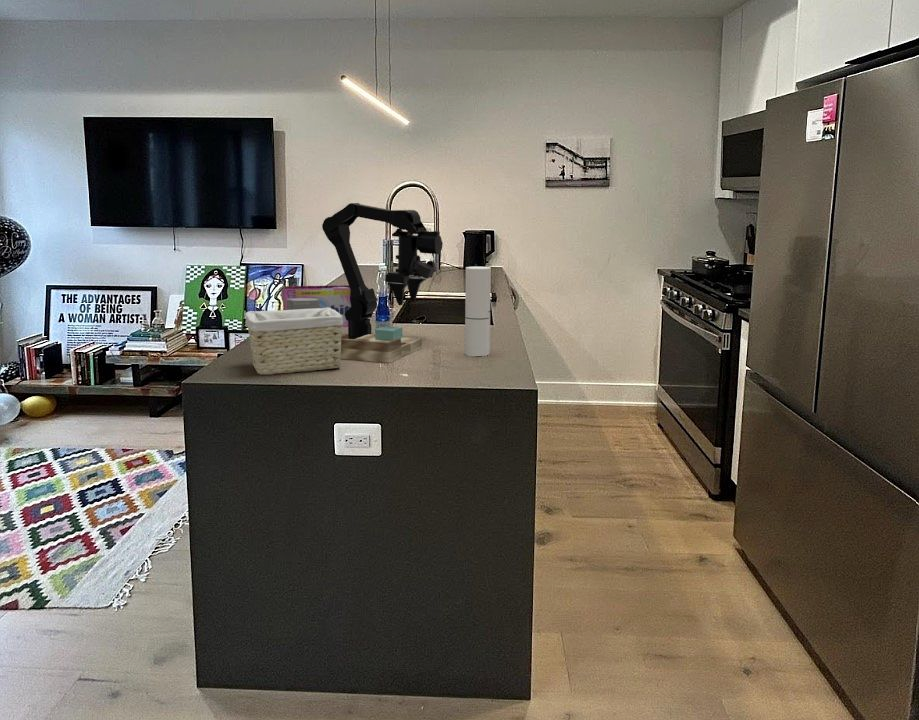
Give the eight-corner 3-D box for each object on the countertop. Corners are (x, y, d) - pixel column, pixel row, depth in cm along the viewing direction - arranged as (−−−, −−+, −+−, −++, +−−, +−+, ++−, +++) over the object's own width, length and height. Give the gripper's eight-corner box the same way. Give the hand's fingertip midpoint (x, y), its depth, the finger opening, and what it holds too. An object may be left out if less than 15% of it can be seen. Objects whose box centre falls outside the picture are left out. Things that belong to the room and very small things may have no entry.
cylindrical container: (492, 352, 239) (494, 267, 234) (485, 357, 232) (486, 269, 227) (469, 350, 241) (470, 266, 236) (461, 355, 235) (462, 268, 229)
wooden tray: (331, 357, 231) (331, 338, 229) (368, 343, 251) (368, 326, 249) (389, 363, 224) (388, 343, 223) (422, 348, 244) (422, 330, 243)
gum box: (281, 329, 276) (279, 288, 273) (281, 325, 283) (280, 286, 280) (352, 327, 280) (351, 287, 277) (351, 323, 288) (350, 284, 285)
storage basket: (253, 377, 207) (250, 320, 204) (246, 364, 222) (243, 310, 219) (346, 370, 215) (344, 315, 212) (333, 358, 230) (331, 306, 227)
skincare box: (293, 356, 232) (291, 300, 229) (286, 351, 239) (284, 297, 235) (322, 353, 236) (320, 299, 233) (314, 349, 242) (312, 296, 239)
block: (375, 339, 241) (375, 329, 241) (384, 336, 247) (384, 326, 246) (393, 341, 239) (393, 331, 239) (402, 337, 245) (402, 327, 244)
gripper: (419, 256, 236) (418, 309, 240) (444, 251, 253) (442, 301, 256) (384, 253, 240) (384, 306, 243) (411, 249, 257) (410, 298, 260)
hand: (406, 303), depth 251 cm, fingers open, 9 cm apart
